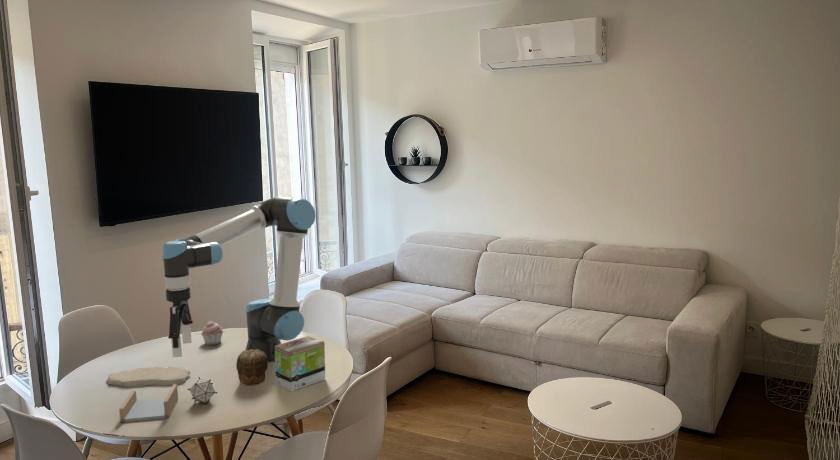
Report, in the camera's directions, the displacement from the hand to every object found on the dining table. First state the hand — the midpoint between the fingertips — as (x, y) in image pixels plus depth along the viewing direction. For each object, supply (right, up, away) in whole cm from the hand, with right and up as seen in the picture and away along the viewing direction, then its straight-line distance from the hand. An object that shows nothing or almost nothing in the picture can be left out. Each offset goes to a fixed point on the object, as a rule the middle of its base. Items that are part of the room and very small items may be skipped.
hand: (182, 349), depth 210 cm
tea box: (+37, -15, +14) cm, 42 cm away
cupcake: (-9, -8, +59) cm, 60 cm away
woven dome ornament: (+20, -15, +15) cm, 29 cm away
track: (-8, -19, -6) cm, 21 cm away
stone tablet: (-20, -15, +22) cm, 33 cm away
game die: (+7, -18, -1) cm, 19 cm away
